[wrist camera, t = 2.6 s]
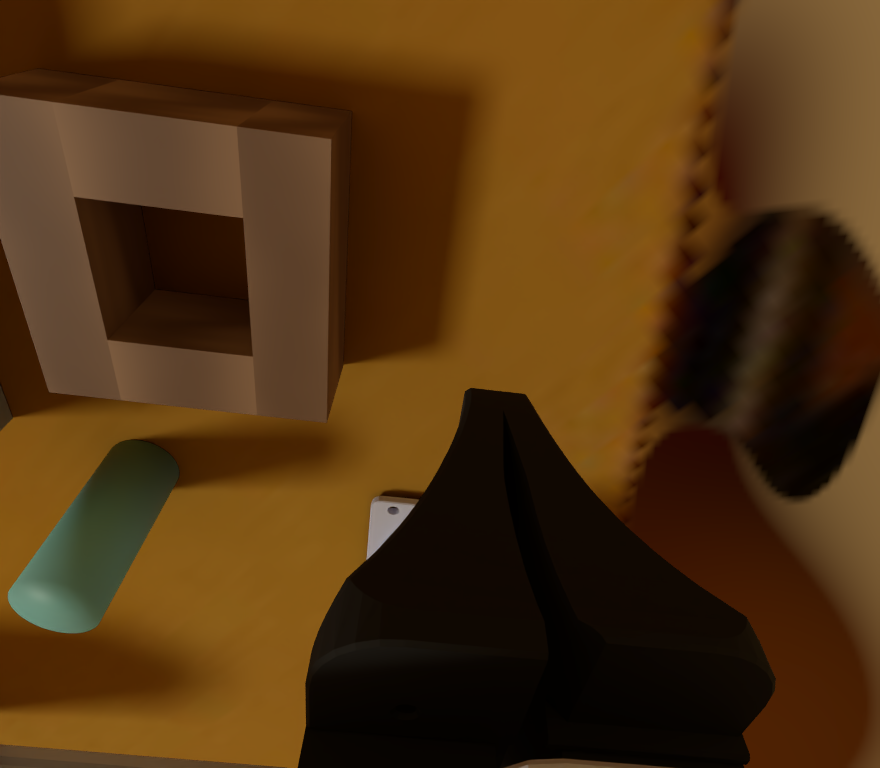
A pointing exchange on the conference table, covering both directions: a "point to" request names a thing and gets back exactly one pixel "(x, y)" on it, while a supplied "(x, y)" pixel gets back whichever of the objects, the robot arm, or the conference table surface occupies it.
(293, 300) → the hole block
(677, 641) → the robot arm
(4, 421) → the backstop wall
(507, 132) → the conference table surface
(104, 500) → the dowel
